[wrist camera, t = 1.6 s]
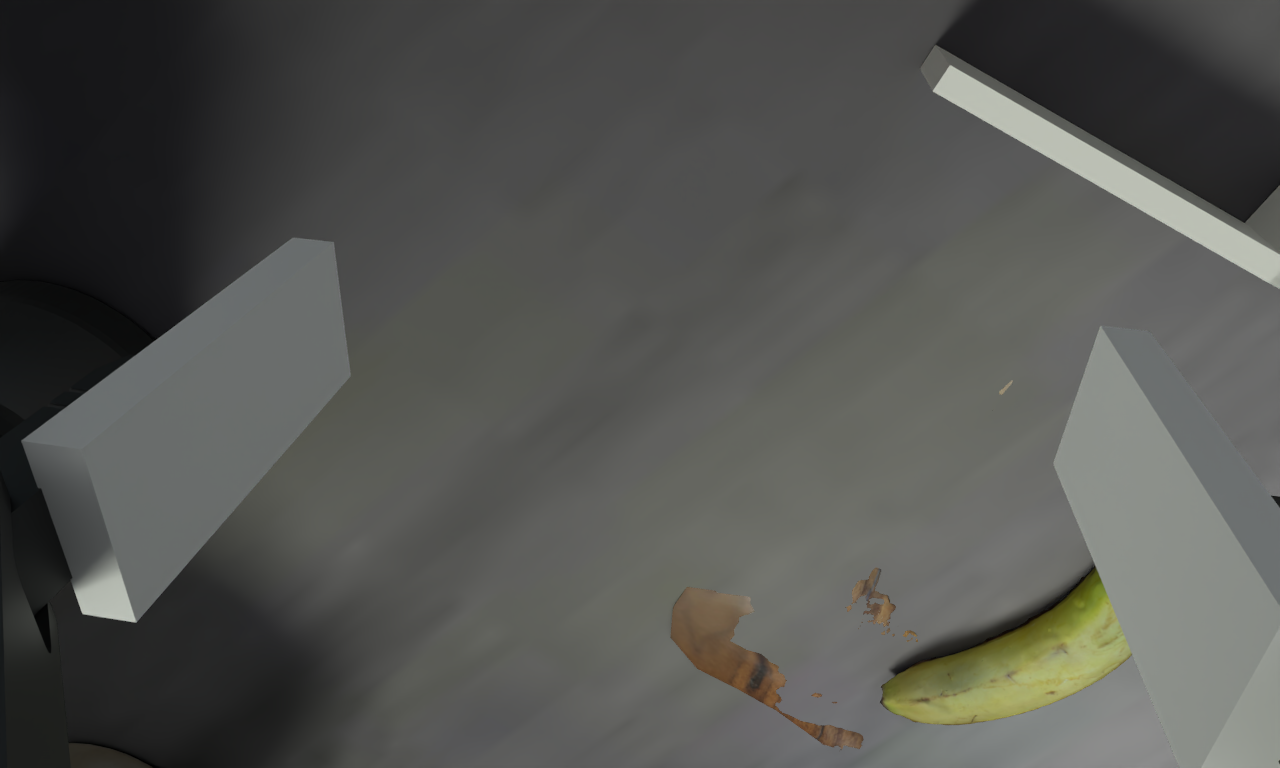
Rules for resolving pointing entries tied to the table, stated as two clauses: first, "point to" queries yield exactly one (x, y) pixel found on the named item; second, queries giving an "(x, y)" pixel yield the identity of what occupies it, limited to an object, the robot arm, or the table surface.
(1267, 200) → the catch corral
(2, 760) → the robot arm
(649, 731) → the table surface
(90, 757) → the plant pot
